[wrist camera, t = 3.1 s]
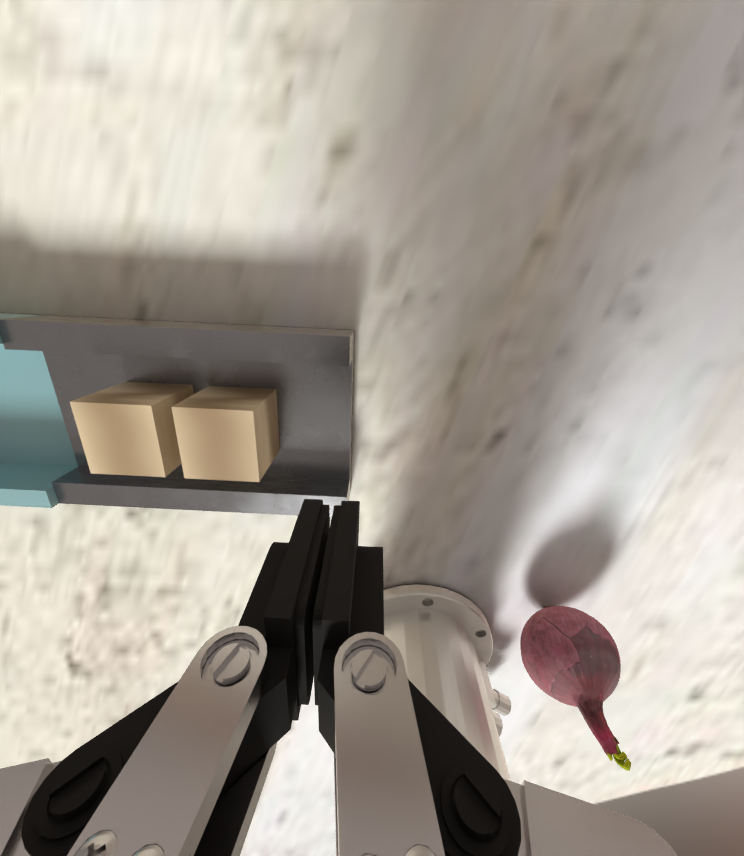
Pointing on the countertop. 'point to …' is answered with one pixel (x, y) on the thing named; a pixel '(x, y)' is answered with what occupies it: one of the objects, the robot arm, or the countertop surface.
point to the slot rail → (201, 367)
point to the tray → (30, 430)
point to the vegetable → (574, 666)
